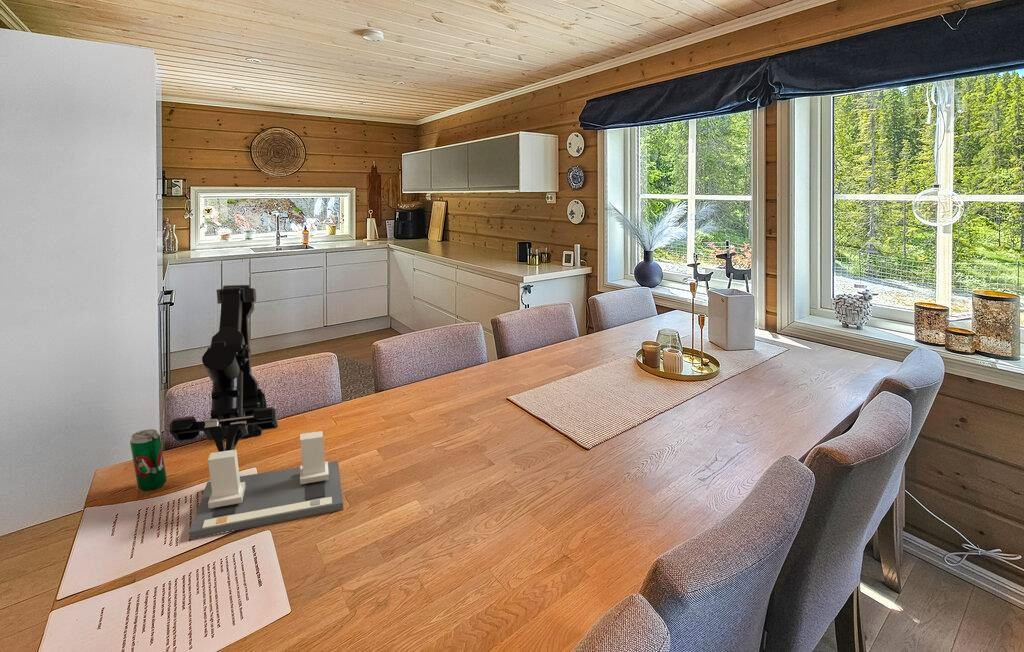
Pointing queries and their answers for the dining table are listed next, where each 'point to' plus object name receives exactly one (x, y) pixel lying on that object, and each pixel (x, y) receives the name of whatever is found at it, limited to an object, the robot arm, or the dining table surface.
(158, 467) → the soda can
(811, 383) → the dining table surface
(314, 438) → the tab
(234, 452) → the tab front
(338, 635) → the dining table surface
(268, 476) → the switch board
